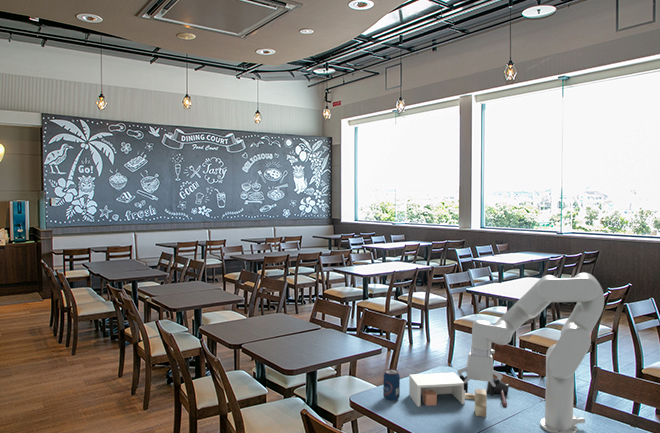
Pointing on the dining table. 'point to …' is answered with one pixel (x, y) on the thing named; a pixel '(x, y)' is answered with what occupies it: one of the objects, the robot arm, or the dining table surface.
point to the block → (429, 397)
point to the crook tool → (479, 401)
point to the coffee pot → (500, 390)
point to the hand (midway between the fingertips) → (478, 393)
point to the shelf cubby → (436, 385)
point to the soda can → (391, 385)
